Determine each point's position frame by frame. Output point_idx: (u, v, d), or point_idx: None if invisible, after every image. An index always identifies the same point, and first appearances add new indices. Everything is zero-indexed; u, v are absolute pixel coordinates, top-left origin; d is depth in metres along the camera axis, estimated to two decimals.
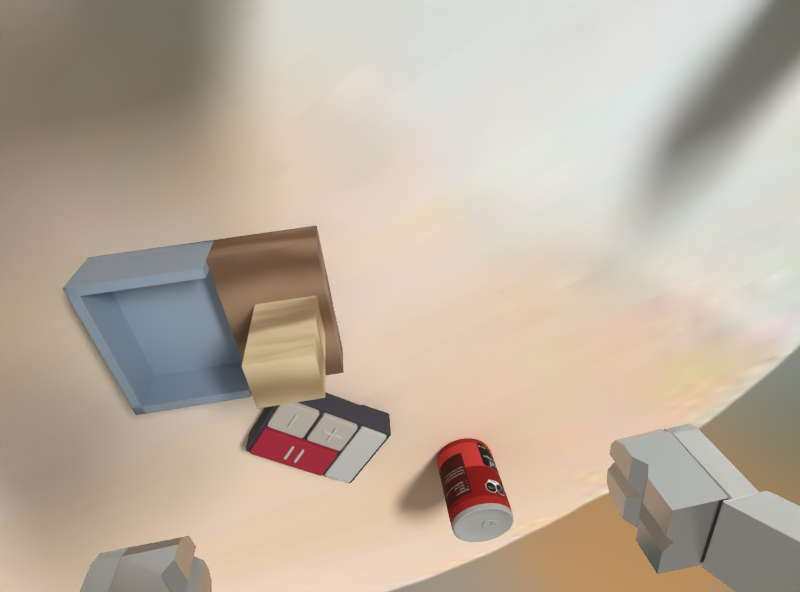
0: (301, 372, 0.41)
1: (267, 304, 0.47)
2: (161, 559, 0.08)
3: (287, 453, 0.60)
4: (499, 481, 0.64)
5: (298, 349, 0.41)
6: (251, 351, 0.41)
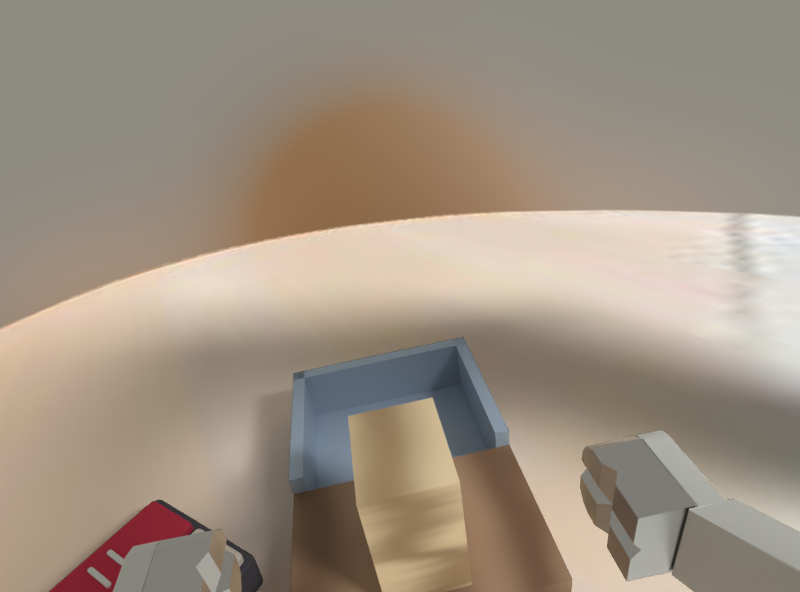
0: (419, 466, 0.24)
1: None
2: (196, 551, 0.08)
3: (119, 556, 0.33)
4: None
5: None
6: None
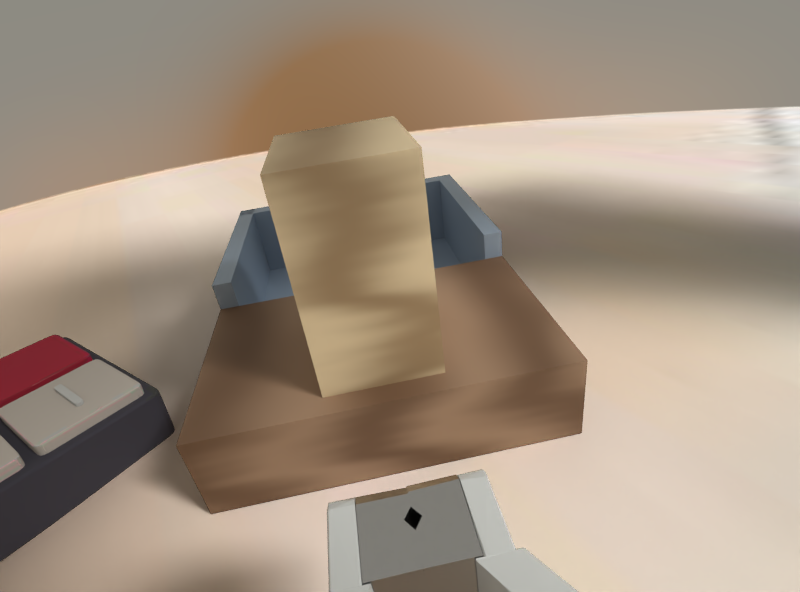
0: (363, 146, 0.16)
1: None
2: (399, 506, 0.08)
3: None
4: None
5: None
6: None
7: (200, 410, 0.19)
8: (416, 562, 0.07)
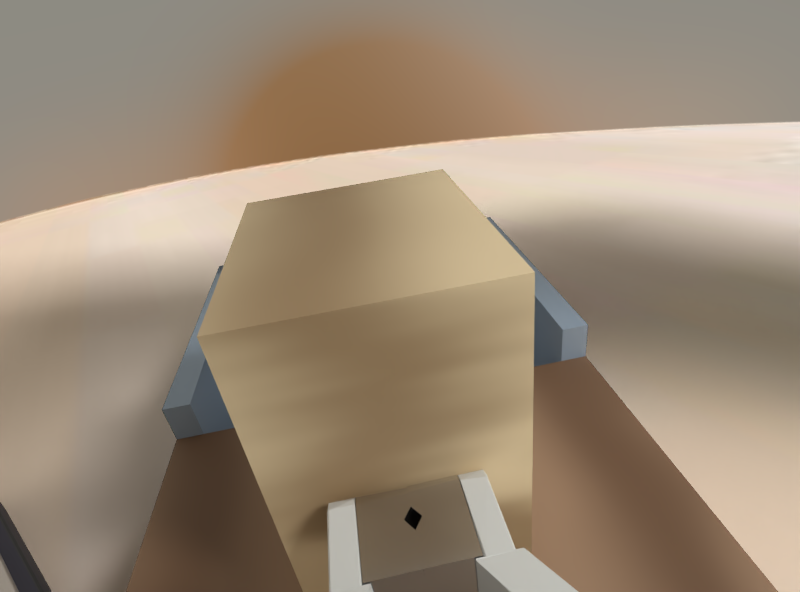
0: (408, 254, 0.08)
1: None
2: (398, 506, 0.08)
3: None
4: None
5: None
6: None
7: None
8: (416, 562, 0.07)
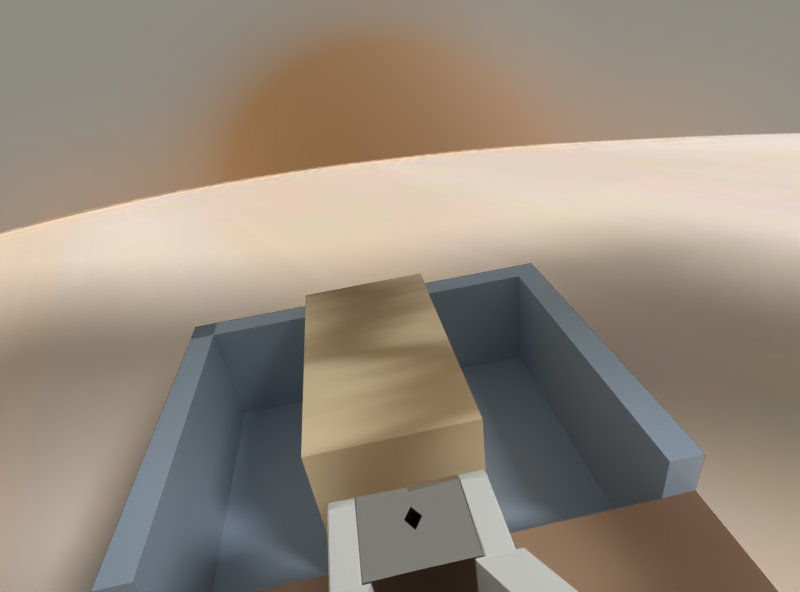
0: None
1: None
2: (398, 506, 0.08)
3: None
4: None
5: None
6: None
7: None
8: (416, 562, 0.07)
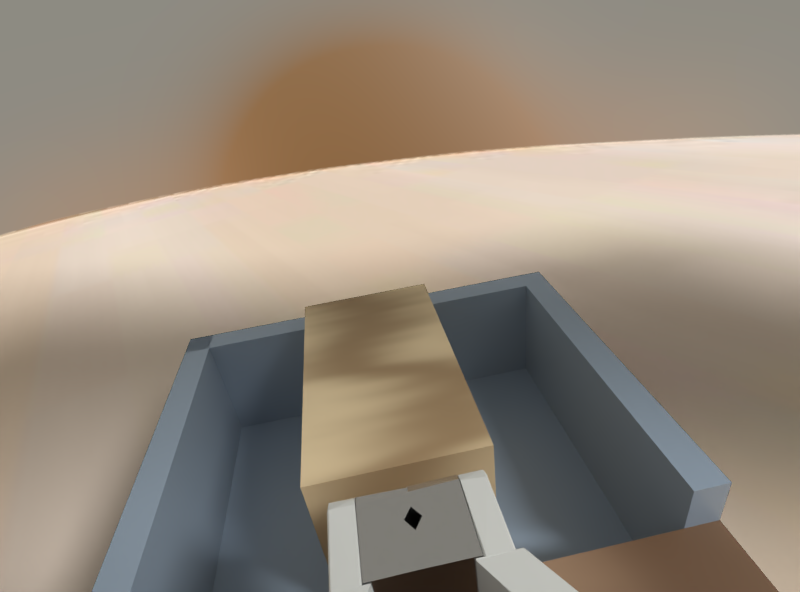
0: None
1: None
2: (399, 506, 0.08)
3: None
4: None
5: None
6: None
7: None
8: (416, 562, 0.07)
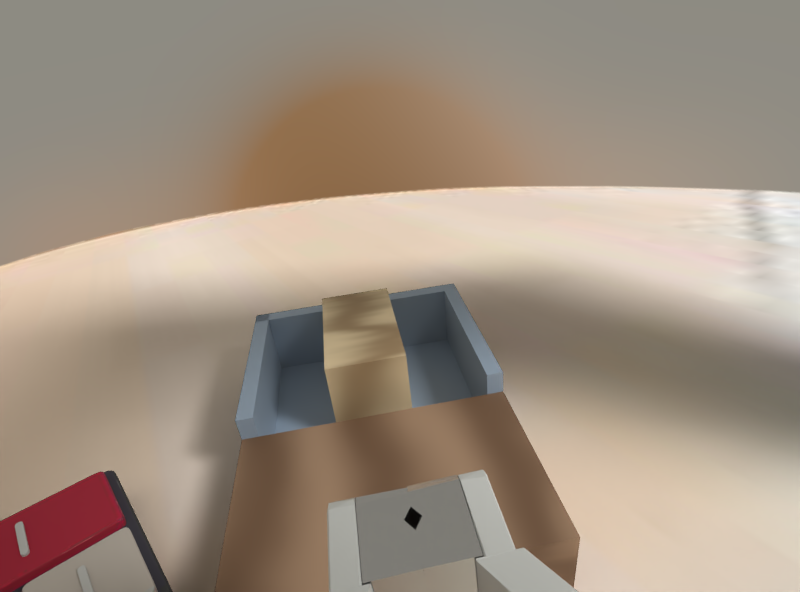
0: None
1: None
2: (399, 506, 0.08)
3: (25, 534, 0.25)
4: None
5: None
6: None
7: (230, 572, 0.21)
8: (416, 562, 0.07)
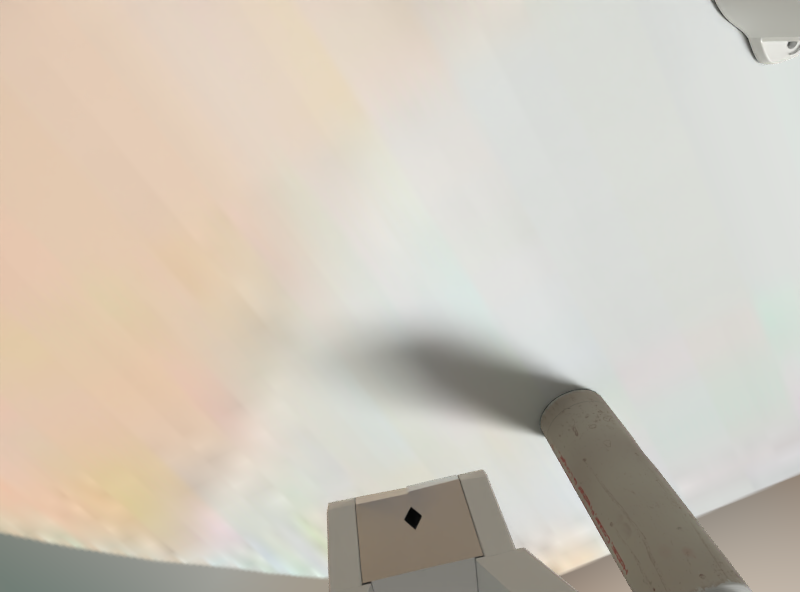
0: None
1: None
2: (398, 506, 0.08)
3: None
4: None
5: None
6: None
7: None
8: (416, 562, 0.07)
